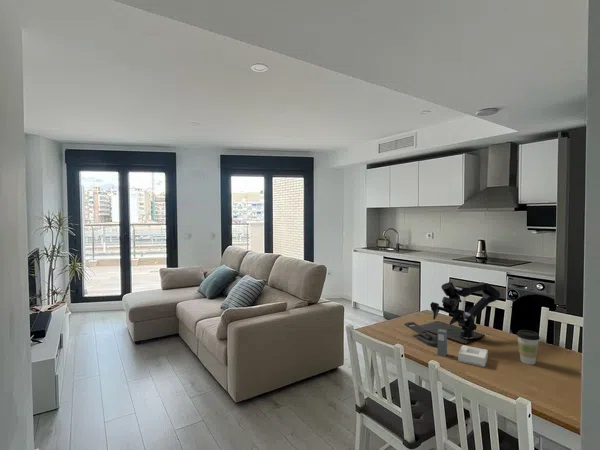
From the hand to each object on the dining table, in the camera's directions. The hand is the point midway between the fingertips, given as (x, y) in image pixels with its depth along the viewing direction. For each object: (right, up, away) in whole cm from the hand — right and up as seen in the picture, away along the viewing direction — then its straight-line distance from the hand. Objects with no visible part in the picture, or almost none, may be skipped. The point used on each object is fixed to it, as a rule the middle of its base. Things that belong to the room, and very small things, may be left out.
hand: (441, 321), depth 192 cm
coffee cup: (+36, -15, -19) cm, 43 cm away
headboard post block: (+10, -15, -15) cm, 24 cm away
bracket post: (-3, -15, -8) cm, 18 cm away
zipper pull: (-6, -15, +14) cm, 21 cm away
